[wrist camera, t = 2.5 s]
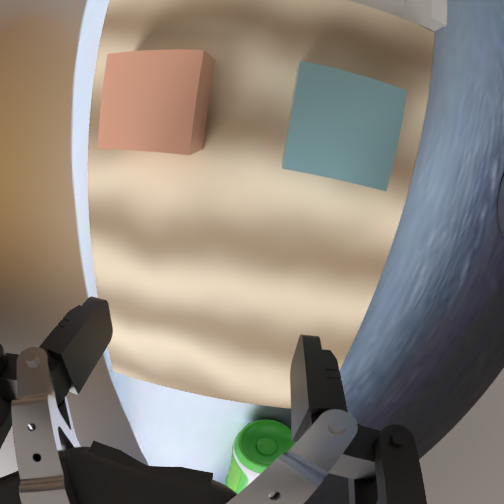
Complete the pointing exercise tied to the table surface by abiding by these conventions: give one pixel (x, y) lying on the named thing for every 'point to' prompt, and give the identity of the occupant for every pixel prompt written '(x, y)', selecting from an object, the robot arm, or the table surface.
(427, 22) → the box
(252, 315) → the wooden tray board
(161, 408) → the table surface
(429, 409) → the table surface
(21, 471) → the robot arm
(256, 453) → the speaker
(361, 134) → the teal tile
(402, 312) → the table surface
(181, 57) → the terracotta tile
